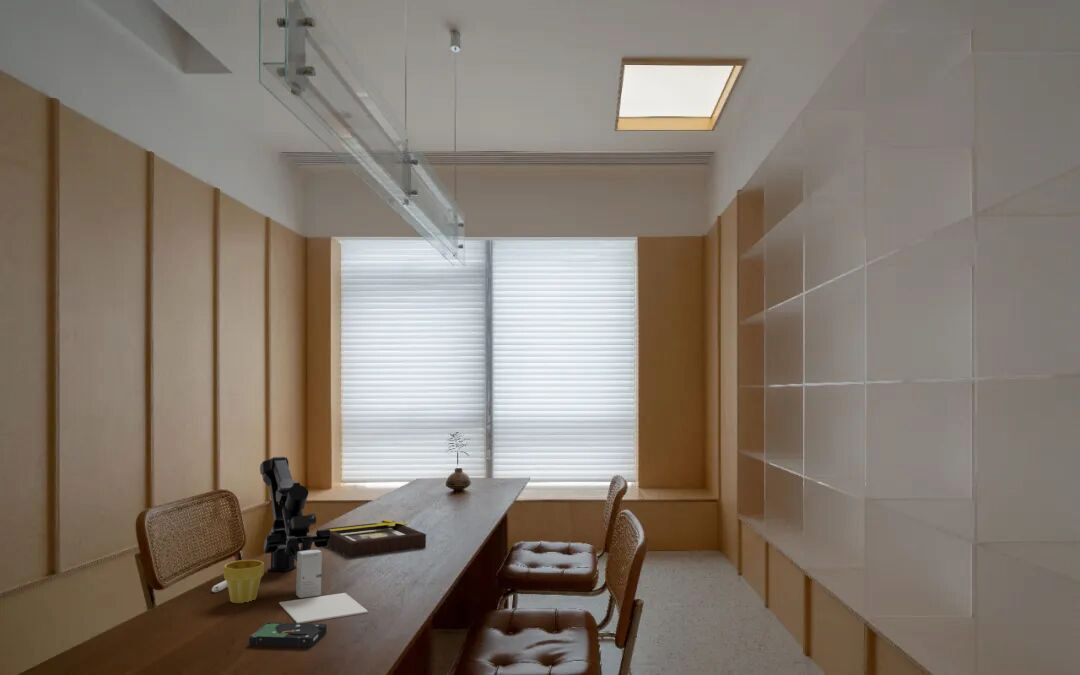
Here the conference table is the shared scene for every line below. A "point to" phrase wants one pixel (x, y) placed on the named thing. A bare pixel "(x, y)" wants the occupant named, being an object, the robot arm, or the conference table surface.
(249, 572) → the plant pot
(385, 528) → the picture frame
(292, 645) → the disk drive
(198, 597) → the conference table surface
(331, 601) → the mat
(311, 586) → the skincare box
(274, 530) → the robot arm
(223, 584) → the marker
